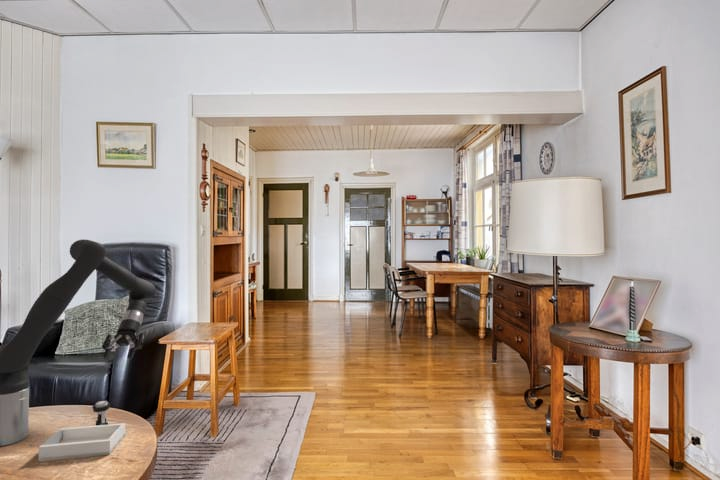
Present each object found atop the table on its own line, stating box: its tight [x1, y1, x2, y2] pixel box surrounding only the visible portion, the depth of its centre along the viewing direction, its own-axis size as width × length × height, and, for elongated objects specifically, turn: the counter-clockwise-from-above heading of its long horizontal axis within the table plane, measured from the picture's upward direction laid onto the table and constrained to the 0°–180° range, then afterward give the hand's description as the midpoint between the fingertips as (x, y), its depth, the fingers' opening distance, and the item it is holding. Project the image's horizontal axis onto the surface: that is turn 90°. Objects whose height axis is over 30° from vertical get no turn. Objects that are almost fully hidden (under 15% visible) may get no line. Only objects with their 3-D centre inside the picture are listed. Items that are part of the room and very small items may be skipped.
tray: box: [37, 422, 126, 462], centre depth 123 cm, size 20×12×4 cm, turn 102°
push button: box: [92, 400, 111, 426], centre depth 135 cm, size 7×5×10 cm
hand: (117, 358), depth 146 cm, fingers open, 8 cm apart
